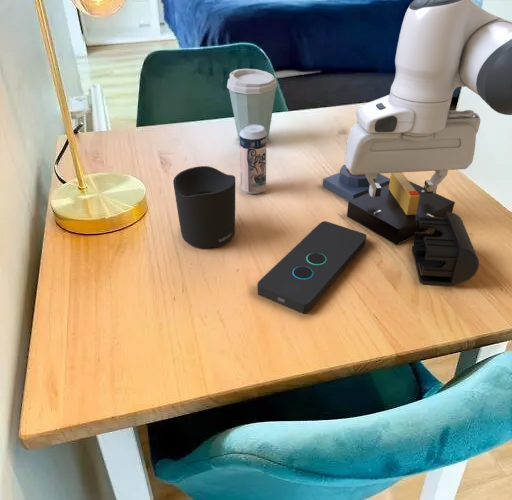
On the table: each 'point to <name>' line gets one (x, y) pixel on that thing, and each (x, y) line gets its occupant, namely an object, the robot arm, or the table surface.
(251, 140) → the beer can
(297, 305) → the smart home device
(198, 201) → the pen holder
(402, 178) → the rotary switch knob
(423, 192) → the rotary switch
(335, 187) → the button box
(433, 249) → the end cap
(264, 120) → the disposable coffee cup
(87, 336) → the table surface
